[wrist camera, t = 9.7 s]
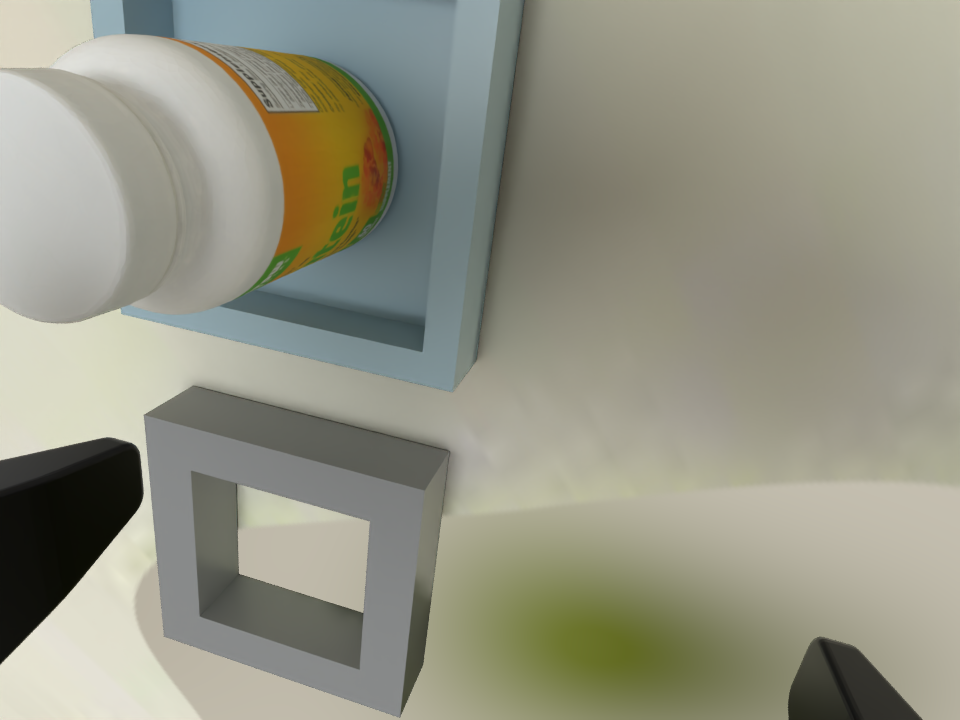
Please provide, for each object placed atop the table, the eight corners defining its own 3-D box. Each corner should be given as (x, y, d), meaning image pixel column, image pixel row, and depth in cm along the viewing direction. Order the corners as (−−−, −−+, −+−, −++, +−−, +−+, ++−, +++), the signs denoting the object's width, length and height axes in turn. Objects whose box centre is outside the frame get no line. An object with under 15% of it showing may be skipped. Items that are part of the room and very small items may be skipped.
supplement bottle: (349, 284, 20) (107, 424, 11) (209, 180, 20) (-142, 241, 11) (437, 132, 18) (218, 162, 9) (279, 14, 18) (-96, -70, 9)
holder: (449, 451, 22) (424, 490, 20) (423, 664, 26) (399, 717, 24) (193, 385, 24) (143, 414, 22) (204, 593, 28) (164, 636, 26)
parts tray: (529, -39, 16) (507, -63, 14) (476, 360, 21) (452, 392, 18) (152, -77, 18) (80, -102, 16) (175, 293, 23) (121, 313, 20)
